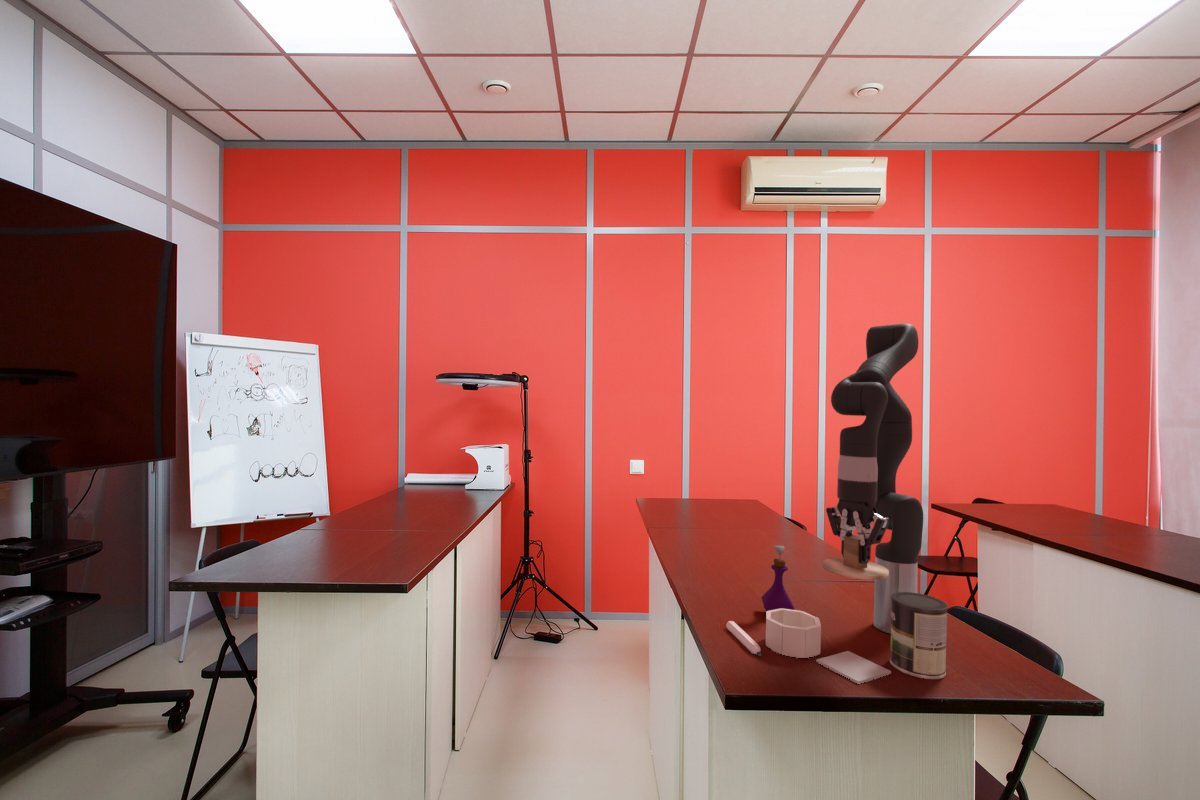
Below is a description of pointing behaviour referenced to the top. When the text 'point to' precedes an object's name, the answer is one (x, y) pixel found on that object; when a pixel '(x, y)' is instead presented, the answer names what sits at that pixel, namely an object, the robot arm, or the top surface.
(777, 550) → the perfume bottle
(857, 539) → the lid
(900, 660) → the coffee can
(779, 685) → the top surface
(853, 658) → the mat
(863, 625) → the top surface
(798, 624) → the pot
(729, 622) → the marker
